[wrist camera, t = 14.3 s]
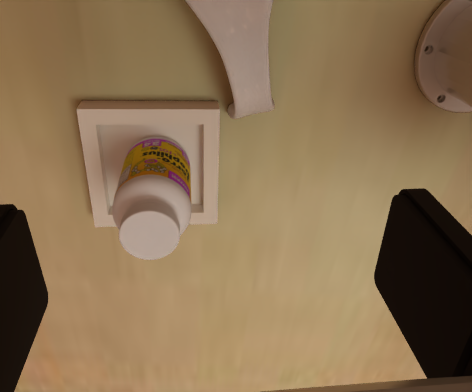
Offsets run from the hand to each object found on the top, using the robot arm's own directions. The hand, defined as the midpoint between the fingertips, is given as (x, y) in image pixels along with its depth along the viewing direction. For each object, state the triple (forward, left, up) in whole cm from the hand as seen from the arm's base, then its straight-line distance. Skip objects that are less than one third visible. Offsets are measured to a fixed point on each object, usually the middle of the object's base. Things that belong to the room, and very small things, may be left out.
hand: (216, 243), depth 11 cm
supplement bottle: (+4, +13, -31) cm, 34 cm away
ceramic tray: (+4, +13, -32) cm, 35 cm away
